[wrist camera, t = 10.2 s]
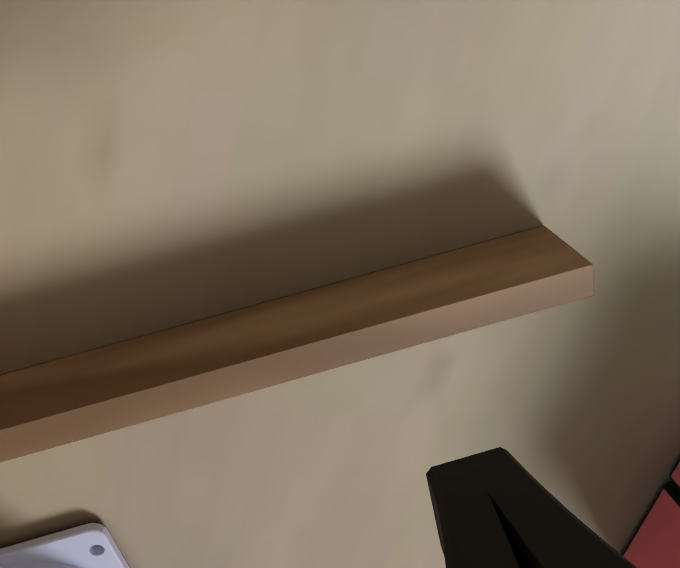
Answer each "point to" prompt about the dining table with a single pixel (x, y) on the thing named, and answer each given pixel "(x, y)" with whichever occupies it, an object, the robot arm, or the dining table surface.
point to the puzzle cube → (659, 530)
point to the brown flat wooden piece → (286, 339)
